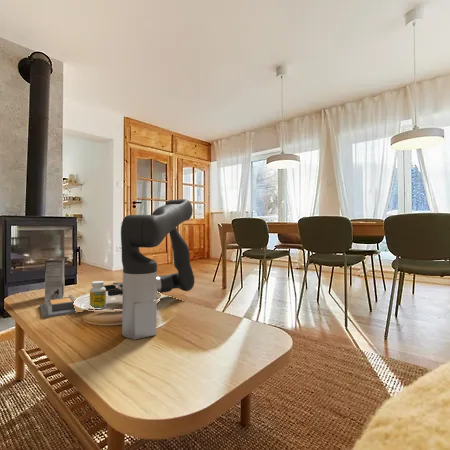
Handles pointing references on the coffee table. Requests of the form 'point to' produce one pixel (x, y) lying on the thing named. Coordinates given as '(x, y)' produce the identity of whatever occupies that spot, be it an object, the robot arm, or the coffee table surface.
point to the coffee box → (54, 278)
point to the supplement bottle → (98, 295)
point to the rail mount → (57, 308)
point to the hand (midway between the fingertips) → (105, 290)
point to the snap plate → (60, 301)
